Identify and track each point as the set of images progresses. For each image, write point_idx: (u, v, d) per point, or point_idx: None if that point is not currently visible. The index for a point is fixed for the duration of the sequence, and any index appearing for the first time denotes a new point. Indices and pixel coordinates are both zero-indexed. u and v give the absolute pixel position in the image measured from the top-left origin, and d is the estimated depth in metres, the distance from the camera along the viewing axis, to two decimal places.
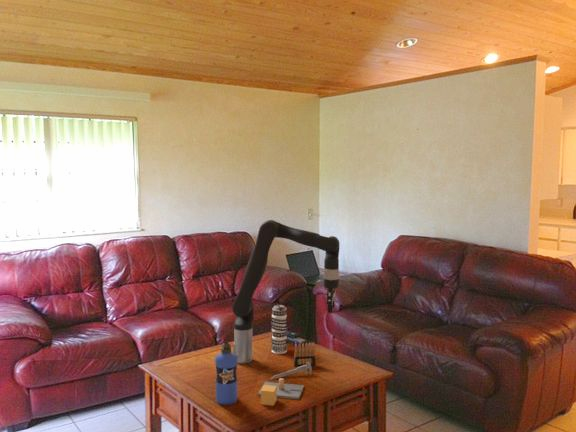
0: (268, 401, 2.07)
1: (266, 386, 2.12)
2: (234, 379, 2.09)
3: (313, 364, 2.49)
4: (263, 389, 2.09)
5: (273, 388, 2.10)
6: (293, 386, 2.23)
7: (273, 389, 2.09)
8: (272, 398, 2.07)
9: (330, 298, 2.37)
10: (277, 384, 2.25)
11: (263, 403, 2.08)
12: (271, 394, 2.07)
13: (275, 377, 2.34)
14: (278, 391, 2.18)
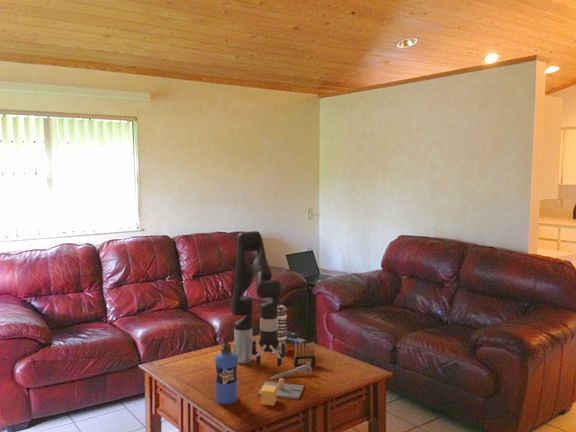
0: (268, 401, 2.07)
1: (266, 386, 2.12)
2: (234, 379, 2.09)
3: (313, 364, 2.49)
4: (263, 389, 2.09)
5: (273, 388, 2.10)
6: (293, 386, 2.23)
7: (273, 389, 2.09)
8: (272, 398, 2.07)
9: (285, 348, 2.07)
10: (277, 384, 2.25)
11: (263, 403, 2.08)
12: (271, 394, 2.07)
13: (275, 377, 2.34)
14: (278, 391, 2.18)
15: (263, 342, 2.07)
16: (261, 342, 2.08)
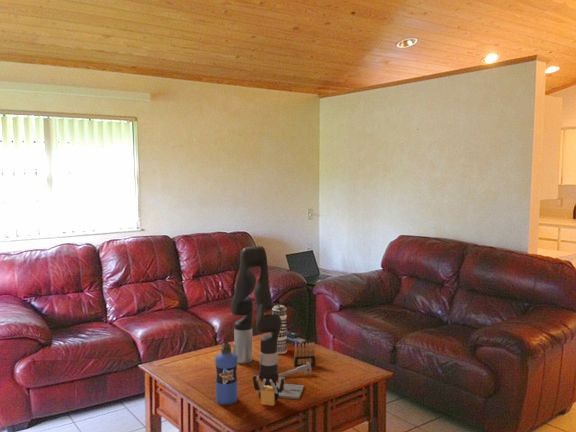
0: (268, 401, 2.07)
1: (266, 386, 2.12)
2: (234, 379, 2.09)
3: (313, 364, 2.49)
4: (263, 389, 2.09)
5: None
6: (293, 386, 2.23)
7: (273, 389, 2.09)
8: (272, 398, 2.07)
9: (283, 384, 2.09)
10: (277, 384, 2.25)
11: (263, 403, 2.08)
12: (271, 394, 2.07)
13: None
14: None
15: (263, 376, 2.09)
16: (261, 376, 2.09)
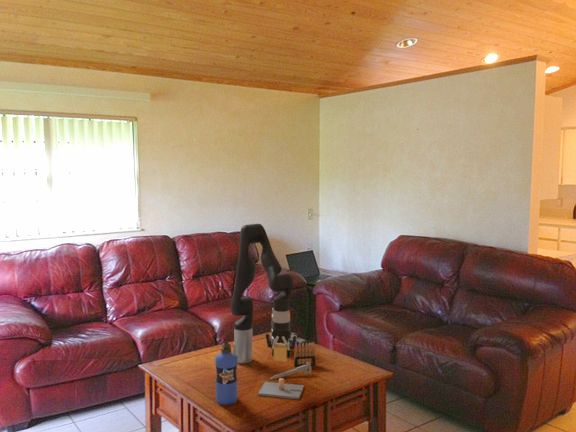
0: (280, 357, 2.16)
1: (278, 344, 2.20)
2: (234, 379, 2.09)
3: (313, 364, 2.49)
4: (276, 346, 2.17)
5: None
6: (293, 386, 2.23)
7: (285, 346, 2.17)
8: (284, 354, 2.16)
9: (295, 341, 2.18)
10: (277, 384, 2.25)
11: (276, 359, 2.17)
12: (283, 350, 2.16)
13: (275, 377, 2.34)
14: (278, 391, 2.18)
15: (276, 333, 2.17)
16: (274, 333, 2.18)
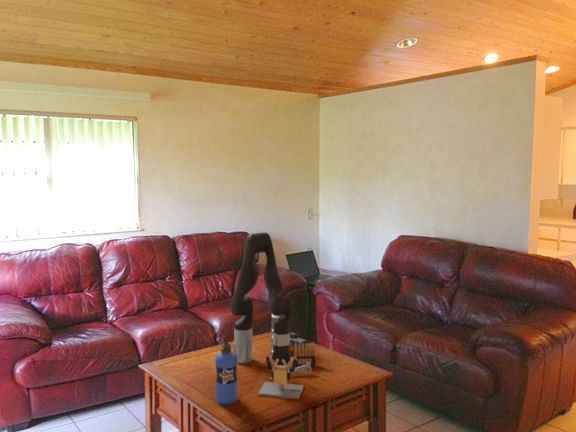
0: (280, 380, 2.17)
1: (279, 366, 2.21)
2: (234, 379, 2.09)
3: (313, 364, 2.49)
4: (276, 369, 2.18)
5: (285, 368, 2.19)
6: (293, 386, 2.23)
7: (285, 369, 2.18)
8: (285, 377, 2.16)
9: (295, 364, 2.18)
10: (277, 384, 2.25)
11: (276, 382, 2.17)
12: (283, 373, 2.16)
13: None
14: (278, 391, 2.18)
15: (276, 356, 2.18)
16: (274, 356, 2.19)
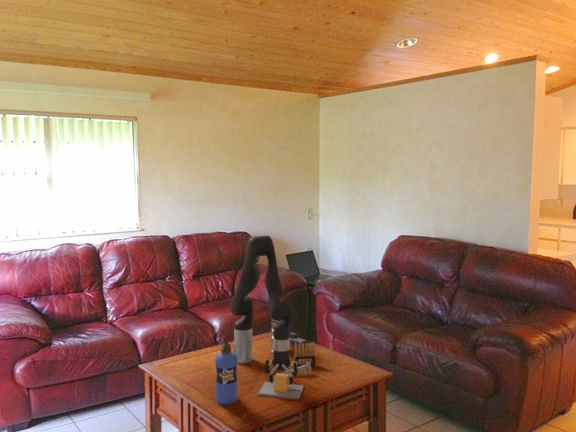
0: (281, 388, 2.17)
1: (279, 374, 2.22)
2: (234, 379, 2.09)
3: (313, 364, 2.49)
4: (276, 377, 2.19)
5: (285, 376, 2.20)
6: (293, 386, 2.23)
7: (285, 377, 2.19)
8: (285, 385, 2.17)
9: (297, 367, 2.19)
10: None
11: (276, 390, 2.18)
12: (284, 381, 2.17)
13: None
14: None
15: (276, 361, 2.19)
16: (274, 361, 2.19)
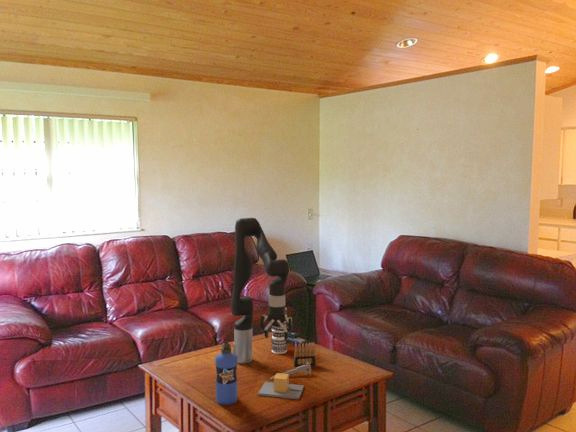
0: (281, 388, 2.17)
1: (279, 374, 2.22)
2: (234, 379, 2.09)
3: (313, 364, 2.49)
4: (276, 377, 2.19)
5: (285, 376, 2.20)
6: (293, 386, 2.23)
7: (285, 377, 2.19)
8: (285, 385, 2.17)
9: (291, 323, 2.23)
10: None
11: (276, 390, 2.18)
12: (284, 381, 2.17)
13: None
14: None
15: (271, 317, 2.23)
16: (269, 317, 2.23)
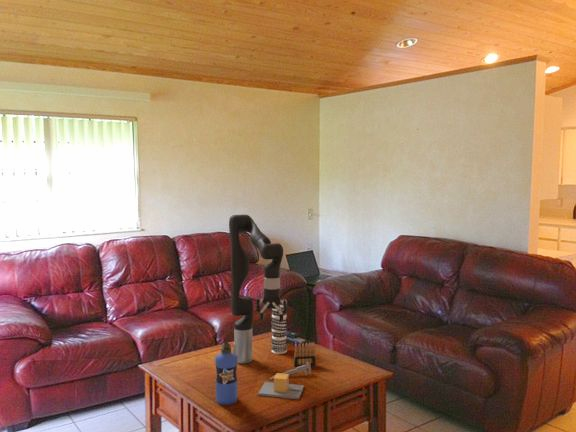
0: (281, 388, 2.17)
1: (279, 374, 2.22)
2: (234, 379, 2.09)
3: (313, 364, 2.49)
4: (276, 377, 2.19)
5: (285, 376, 2.20)
6: (293, 386, 2.23)
7: (285, 377, 2.19)
8: (285, 385, 2.17)
9: (286, 305, 2.28)
10: None
11: (276, 390, 2.18)
12: (284, 381, 2.17)
13: None
14: None
15: (266, 300, 2.28)
16: (265, 300, 2.29)
